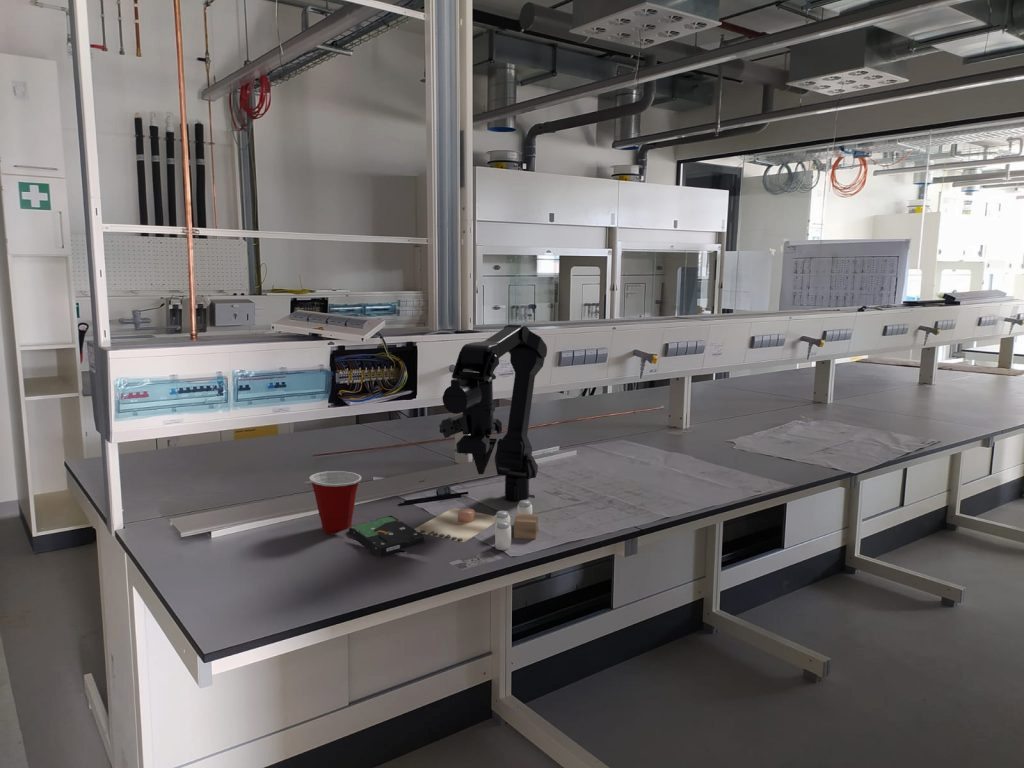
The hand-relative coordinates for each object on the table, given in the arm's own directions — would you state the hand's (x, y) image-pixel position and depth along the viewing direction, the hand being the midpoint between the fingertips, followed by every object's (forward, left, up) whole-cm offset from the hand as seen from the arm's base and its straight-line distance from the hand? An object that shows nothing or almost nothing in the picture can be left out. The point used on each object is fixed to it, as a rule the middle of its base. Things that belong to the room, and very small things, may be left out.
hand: (481, 473), depth 155 cm
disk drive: (+17, -13, -12) cm, 25 cm away
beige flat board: (+4, -4, -12) cm, 13 cm away
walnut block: (+2, +12, -12) cm, 17 cm away
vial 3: (-3, +9, -12) cm, 15 cm away
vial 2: (+10, +11, -12) cm, 19 cm away
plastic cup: (+17, -26, -12) cm, 33 cm away
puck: (+1, -3, -11) cm, 11 cm away
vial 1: (+5, +8, -12) cm, 15 cm away
